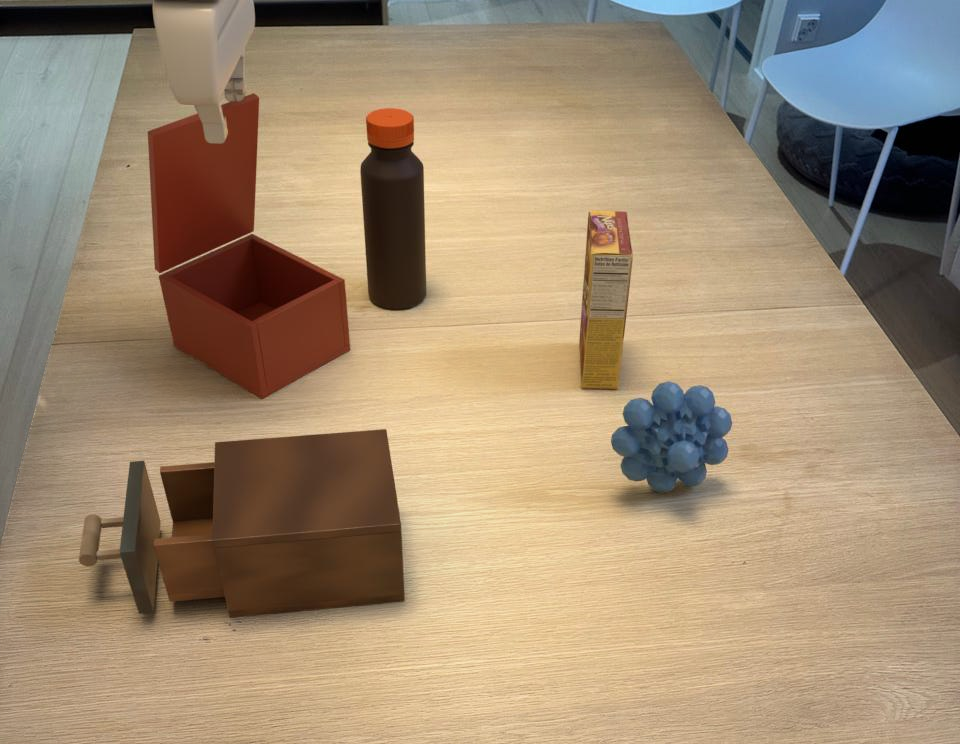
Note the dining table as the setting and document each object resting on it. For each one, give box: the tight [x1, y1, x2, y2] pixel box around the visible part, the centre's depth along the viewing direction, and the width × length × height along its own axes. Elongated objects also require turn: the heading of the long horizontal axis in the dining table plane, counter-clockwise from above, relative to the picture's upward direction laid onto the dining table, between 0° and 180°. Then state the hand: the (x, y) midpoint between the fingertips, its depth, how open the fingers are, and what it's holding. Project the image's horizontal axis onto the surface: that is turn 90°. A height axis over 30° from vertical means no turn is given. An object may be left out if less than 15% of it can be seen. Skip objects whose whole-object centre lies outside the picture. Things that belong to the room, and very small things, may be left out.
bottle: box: [359, 107, 427, 310], centre depth 116 cm, size 7×7×20 cm
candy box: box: [578, 210, 634, 390], centre depth 108 cm, size 9×4×15 cm, turn 178°
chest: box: [158, 233, 351, 399], centre depth 112 cm, size 15×13×8 cm
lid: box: [147, 92, 260, 274], centre depth 106 cm, size 15×13×1 cm
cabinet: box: [212, 428, 406, 618], centre depth 89 cm, size 15×13×9 cm
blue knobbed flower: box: [610, 381, 733, 494], centre depth 95 cm, size 12×7×12 cm, turn 103°
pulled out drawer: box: [78, 460, 225, 614], centre depth 88 cm, size 18×11×7 cm, turn 99°
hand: (227, 119), depth 97 cm, fingers open, 8 cm apart
